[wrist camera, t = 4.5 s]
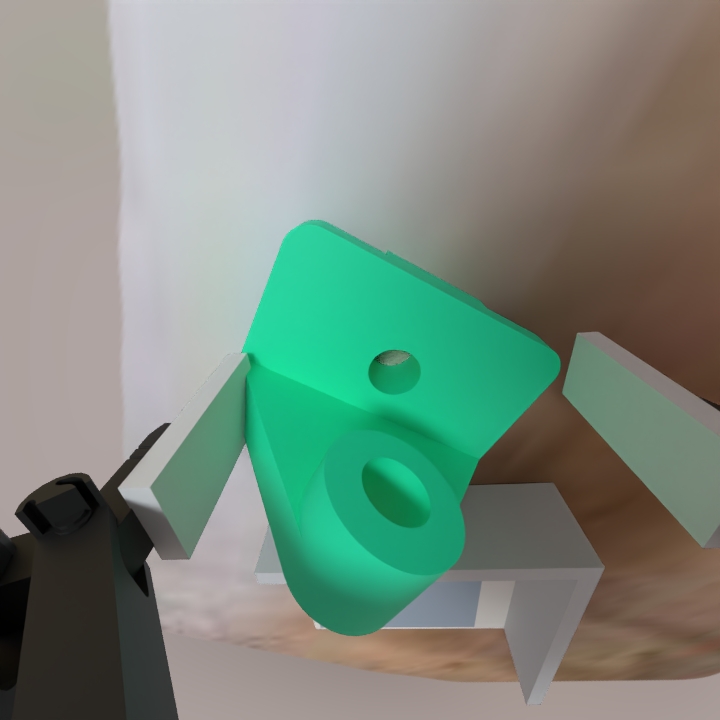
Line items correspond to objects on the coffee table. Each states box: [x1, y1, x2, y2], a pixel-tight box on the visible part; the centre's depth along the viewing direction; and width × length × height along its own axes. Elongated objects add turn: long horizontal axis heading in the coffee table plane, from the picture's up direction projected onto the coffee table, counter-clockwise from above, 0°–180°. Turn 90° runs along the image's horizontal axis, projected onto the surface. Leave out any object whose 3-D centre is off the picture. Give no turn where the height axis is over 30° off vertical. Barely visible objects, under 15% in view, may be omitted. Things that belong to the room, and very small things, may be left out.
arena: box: [254, 483, 605, 705], centre depth 22 cm, size 17×17×5 cm
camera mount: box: [241, 220, 561, 636], centre depth 11 cm, size 12×8×10 cm, turn 63°
